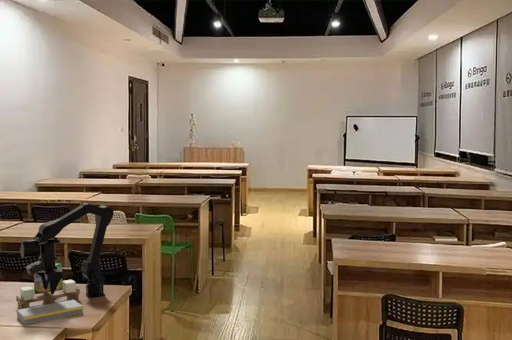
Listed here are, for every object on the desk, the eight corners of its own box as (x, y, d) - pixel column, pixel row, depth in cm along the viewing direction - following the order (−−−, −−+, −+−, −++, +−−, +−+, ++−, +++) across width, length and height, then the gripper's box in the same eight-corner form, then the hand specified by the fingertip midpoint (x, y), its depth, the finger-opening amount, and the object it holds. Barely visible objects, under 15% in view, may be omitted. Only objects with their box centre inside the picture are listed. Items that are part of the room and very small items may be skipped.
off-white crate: (71, 288, 237) (71, 279, 237) (75, 291, 233) (75, 282, 233) (62, 290, 235) (62, 281, 234) (66, 293, 231) (66, 283, 230)
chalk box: (52, 293, 243) (51, 260, 242) (33, 292, 245) (32, 259, 244) (63, 287, 252) (62, 255, 251) (45, 286, 254) (44, 254, 253)
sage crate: (30, 295, 227) (30, 286, 226) (34, 298, 223) (33, 289, 223) (20, 297, 224) (20, 287, 224) (23, 300, 220) (23, 290, 220)
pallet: (74, 296, 239) (74, 285, 238) (79, 300, 234) (79, 289, 234) (16, 307, 224) (16, 295, 224) (20, 311, 219) (20, 299, 219)
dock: (73, 306, 225) (73, 299, 225) (83, 313, 217) (82, 306, 217) (17, 317, 212) (16, 310, 212) (24, 325, 204) (24, 317, 204)
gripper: (21, 252, 230) (22, 289, 231) (34, 261, 215) (35, 300, 216) (48, 249, 237) (49, 285, 238) (62, 257, 222) (63, 295, 223)
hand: (48, 291), depth 229 cm, fingers open, 9 cm apart
